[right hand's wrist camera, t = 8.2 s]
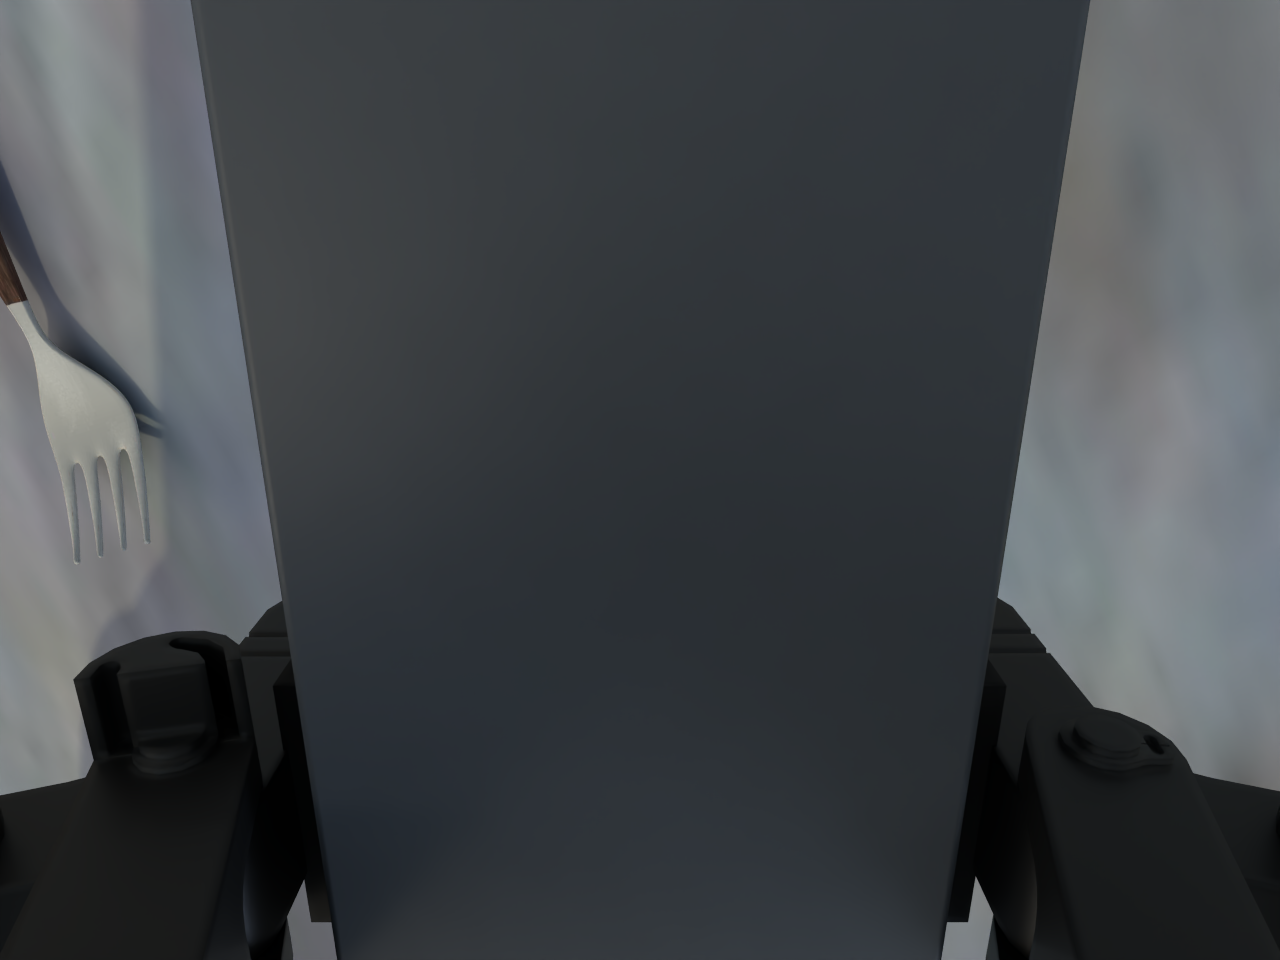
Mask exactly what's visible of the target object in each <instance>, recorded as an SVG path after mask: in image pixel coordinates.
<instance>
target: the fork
mask: <svg viewBox="0 0 1280 960" xmlns="http://www.w3.org/2000/svg"><path fill="white" fill-rule="evenodd" d="M0 297H1V298H2V300H3V301H4V303H5V304H6V306H7V307H8V308H9V310H10V311H11V313H12V314H13V316H14V318H15V319H16V321H17V322H18V324H19V325H20V327H21V329H22V331H23V332H24V334H25V336H26V338H27V340H28V342H29V344H30V347H31V350H32V353H33V356H34V360H35V365H36V371H37V378H38V386H39V395H40V402H41V408H42V413H43V418H44V423H45V427H46V431H47V434H48V437H49V441H50V444H51V447H52V450H53V453H54V456H55V459H56V462H57V465H58V469H59V472H60V476H61V480H62V485H63V490H64V495H65V500H66V506H67V512H68V518H69V525H70V531H71V538H72V545H73V555H74V563H75V564H80V542H79V524H78V509H77V497H76V488H75V477H74V467H75V464H76V463H79V464H80V465H81V467H82V469H83V472H84V476H85V479H86V484H87V489H88V495H89V500H90V506H91V512H92V518H93V524H94V530H95V537H96V545H97V554H98V556H99V557H103V534H102V519H101V504H100V493H99V483H98V473H97V459H98V457H99V456H102V457H103V458H104V460H105V462H106V465H107V469H108V473H109V478H110V483H111V488H112V493H113V499H114V505H115V510H116V516H117V522H118V529H119V536H120V544H121V549H122V550H124V551H125V550H126V525H125V511H124V498H123V486H122V477H121V468H120V452H121V450H122V449H125V450H126V451H127V453H128V455H129V458H130V462H131V466H132V471H133V476H134V481H135V486H136V491H137V496H138V502H139V508H140V513H141V519H142V526H143V533H144V543H146V544H149V543H150V529H149V514H148V501H147V489H146V479H145V470H144V463H143V455H142V448H141V441H140V435H139V429H138V424H137V420H136V417H135V414H134V412H133V409H132V407H131V405H130V404H129V402H128V401H127V399H126V398H125V397H124V395H123V394H122V393H121V392H120V391H119V390H118V389H117V388H116V387H115V386H114V385H113V384H111V383H110V382H109V381H108V380H106V379H105V378H104V377H102V376H101V375H99V374H98V373H96V372H95V371H93V370H91V369H90V368H88V367H87V366H85V365H83V364H82V363H80V362H79V361H77V360H75V359H74V358H72V357H71V356H69V355H68V354H66V353H65V352H63V351H62V350H60V349H59V348H58V347H57V346H55V345H54V344H53V343H52V342H51V341H50V340H49V339H48V338H47V336H46V335H45V334H44V332H43V331H42V329H41V327H40V326H39V324H38V322H37V320H36V318H35V316H34V313H33V311H32V309H31V307H30V304H29V302H28V299H27V297H26V294H25V292H24V290H23V287H22V285H21V282H20V280H19V277H18V275H17V272H16V270H15V267H14V265H13V262H12V260H11V257H10V255H9V252H8V250H7V247H6V245H5V242H4V240H3V237H2V235H1V232H0Z"/></svg>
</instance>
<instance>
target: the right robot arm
mask: <svg viewBox="0 0 1280 960" xmlns="http://www.w3.org/2000/svg"><path fill="white" fill-rule="evenodd" d="M73 680H74V684H75V688H76V692H77V696H78V700H79V704H80V708H81V712H82V715H83V719H84V723H85V727H86V731H87V735H88V739H89V743H90V747H91V751H92V755H93V759H94V761H93V763H92V765H91V767H90V770H89V772H88V774H87V776H86V778H82V779H78V780H74V781H70V782H66V783H61V784H56V785H51V786H46V787H41V788H36V789H31V790H26V791H21V792H15V793H10V794H5V795H0V960H293V951H292V944H291V937H290V931H289V926H288V920H287V915H288V913H289V911H290V909H291V907H292V905H293V902H294V900H295V898H296V896H297V894H298V891H299V889H300V887H301V885H302V883H303V881H304V880H305V886H306V892H307V898H308V904H309V910H310V917H311V922H331V915H330V909H329V902H328V896H327V889H326V883H325V876H324V870H323V863H322V856H321V850H320V843H319V837H318V830H317V824H316V817H315V811H314V804H313V798H312V791H311V784H310V778H309V771H308V765H307V758H306V752H305V745H304V739H303V732H302V726H301V719H300V712H299V706H298V699H297V693H296V686H295V680H294V673H293V667H292V660H291V654H290V647H289V640H288V634H287V627H286V621H285V614H284V608H283V601H281V602H279V603H278V604H276V605H275V606H273V607H271V608H270V609H268V610H267V611H266V612H265V614H264V615H263V616H262V617H261V619H260V620H259V621H258V622H257V624H256V625H255V626H254V627H253V628H252V630H251V631H250V632H249V637H245V638H244V640H243V641H242V642H241V643H240V645H238V644H237V643H236V642H234V641H233V640H231V639H230V638H229V637H227V636H226V635H221V634H217V633H212V632H207V631H179V632H171V633H166V634H161V635H156V636H151V637H146V638H142V639H139V640H137V641H134V642H131V643H128V644H126V645H123V646H120V647H117V648H115V649H113V650H111V651H109V652H108V653H106V654H104V655H102V656H101V657H99V658H97V659H96V660H94V661H92V662H90V663H89V664H88V665H87V666H86V667H85V668H84V669H83V670H82V671H81V672H80V673H79V674H78V675H77V676H76V677H75V678H74V679H73ZM975 876H976V877H977V880H978V882H979V884H980V886H981V888H982V890H983V893H984V895H985V897H986V899H987V901H988V903H989V906H990V908H991V910H992V912H993V920H992V926H991V931H990V937H989V943H988V948H987V954H986V960H1280V791H1275V790H1270V789H1265V788H1260V787H1255V786H1250V785H1244V784H1239V783H1234V782H1229V781H1224V780H1219V779H1214V778H1210V777H1206V776H1202V775H1198V774H1194V773H1193V772H1192V770H1191V768H1190V766H1189V764H1188V762H1187V760H1186V758H1185V757H1184V756H1183V755H1182V753H1181V752H1180V751H1179V750H1178V748H1177V747H1176V746H1175V745H1174V743H1173V742H1172V741H1171V740H1169V739H1168V738H1166V737H1165V736H1163V735H1162V734H1160V733H1159V732H1157V731H1156V730H1154V729H1153V728H1152V727H1150V726H1149V725H1147V724H1144V723H1142V722H1139V721H1137V720H1135V719H1132V718H1130V717H1128V716H1125V715H1123V714H1121V713H1117V712H1113V711H1109V710H1104V709H1100V708H1095V707H1093V706H1092V704H1091V703H1090V702H1089V701H1088V699H1087V698H1086V697H1085V696H1084V694H1083V693H1082V692H1081V691H1080V690H1079V688H1078V687H1077V686H1076V685H1075V683H1074V682H1073V681H1072V680H1071V678H1070V677H1069V676H1068V675H1067V674H1066V672H1065V671H1064V670H1063V669H1062V667H1061V666H1060V665H1059V664H1058V662H1057V661H1056V660H1055V659H1054V658H1053V656H1052V655H1051V654H1050V653H1046V648H1045V646H1044V645H1043V644H1042V643H1041V641H1040V640H1039V639H1038V638H1037V637H1036V635H1035V634H1031V629H1030V628H1029V627H1028V625H1027V624H1026V623H1025V622H1024V621H1023V619H1022V618H1021V617H1020V616H1019V614H1018V613H1017V612H1016V611H1015V609H1014V608H1013V607H1012V606H1010V605H1009V604H1007V603H1005V602H1004V601H1002V600H1000V599H999V598H997V603H996V609H995V616H994V622H993V629H992V635H991V642H990V648H989V654H988V661H987V667H986V674H985V680H984V687H983V693H982V699H981V706H980V712H979V719H978V725H977V732H976V738H975V745H974V751H973V757H972V764H971V770H970V777H969V783H968V790H967V796H966V803H965V809H964V815H963V822H962V828H961V835H960V841H959V848H958V854H957V860H956V867H955V873H954V880H953V886H952V893H951V899H950V906H949V912H948V918H947V922H968V919H969V913H970V907H971V901H972V895H973V888H974V882H975Z"/></svg>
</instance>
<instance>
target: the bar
mask: <svg viewBox="0 0 1280 960" xmlns="http://www.w3.org/2000/svg"><path fill="white" fill-rule="evenodd" d="M1089 4H1090V0H191V5H192V12H193V19H194V25H195V32H196V38H197V45H198V51H199V58H200V64H201V71H202V77H203V84H204V91H205V97H206V104H207V110H208V117H209V123H210V130H211V136H212V143H213V149H214V156H215V163H216V169H217V176H218V182H219V189H220V195H221V202H222V208H223V215H224V221H225V228H226V235H227V241H228V248H229V254H230V261H231V267H232V274H233V280H234V287H235V293H236V300H237V307H238V313H239V320H240V326H241V333H242V339H243V346H244V352H245V359H246V365H247V372H248V379H249V385H250V392H251V398H252V405H253V411H254V418H255V424H256V431H257V438H258V444H259V451H260V457H261V464H262V470H263V477H264V483H265V490H266V496H267V503H268V510H269V516H270V523H271V529H272V536H273V542H274V549H275V555H276V562H277V568H278V575H279V582H280V588H281V595H282V601H283V608H284V614H285V621H286V627H287V634H288V640H289V647H290V654H291V660H292V667H293V673H294V680H295V686H296V693H297V699H298V706H299V712H300V719H301V726H302V732H303V739H304V745H305V752H306V758H307V765H308V771H309V778H310V784H311V791H312V798H313V804H314V811H315V817H316V824H317V830H318V837H319V843H320V850H321V856H322V863H323V870H324V876H325V883H326V889H327V896H328V902H329V909H330V915H331V922H332V928H333V935H334V942H335V948H336V955H337V960H941V957H942V951H943V944H944V938H945V931H946V925H947V918H948V912H949V906H950V899H951V893H952V886H953V880H954V873H955V867H956V860H957V854H958V848H959V841H960V835H961V828H962V822H963V815H964V809H965V803H966V796H967V790H968V783H969V777H970V770H971V764H972V757H973V751H974V745H975V738H976V732H977V725H978V719H979V712H980V706H981V699H982V693H983V687H984V680H985V674H986V667H987V661H988V654H989V648H990V642H991V635H992V629H993V622H994V616H995V609H996V603H997V596H998V590H999V584H1000V577H1001V571H1002V564H1003V558H1004V551H1005V545H1006V539H1007V532H1008V526H1009V519H1010V513H1011V506H1012V500H1013V493H1014V487H1015V481H1016V474H1017V468H1018V461H1019V455H1020V448H1021V442H1022V436H1023V429H1024V423H1025V416H1026V410H1027V403H1028V397H1029V390H1030V384H1031V378H1032V371H1033V365H1034V358H1035V352H1036V345H1037V339H1038V333H1039V326H1040V320H1041V313H1042V307H1043V300H1044V294H1045V287H1046V281H1047V275H1048V268H1049V262H1050V255H1051V249H1052V242H1053V236H1054V229H1055V223H1056V217H1057V210H1058V204H1059V197H1060V191H1061V184H1062V178H1063V172H1064V165H1065V159H1066V152H1067V146H1068V139H1069V133H1070V126H1071V120H1072V114H1073V107H1074V101H1075V94H1076V88H1077V81H1078V75H1079V69H1080V62H1081V56H1082V49H1083V43H1084V36H1085V30H1086V23H1087V17H1088V11H1089Z"/></svg>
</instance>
